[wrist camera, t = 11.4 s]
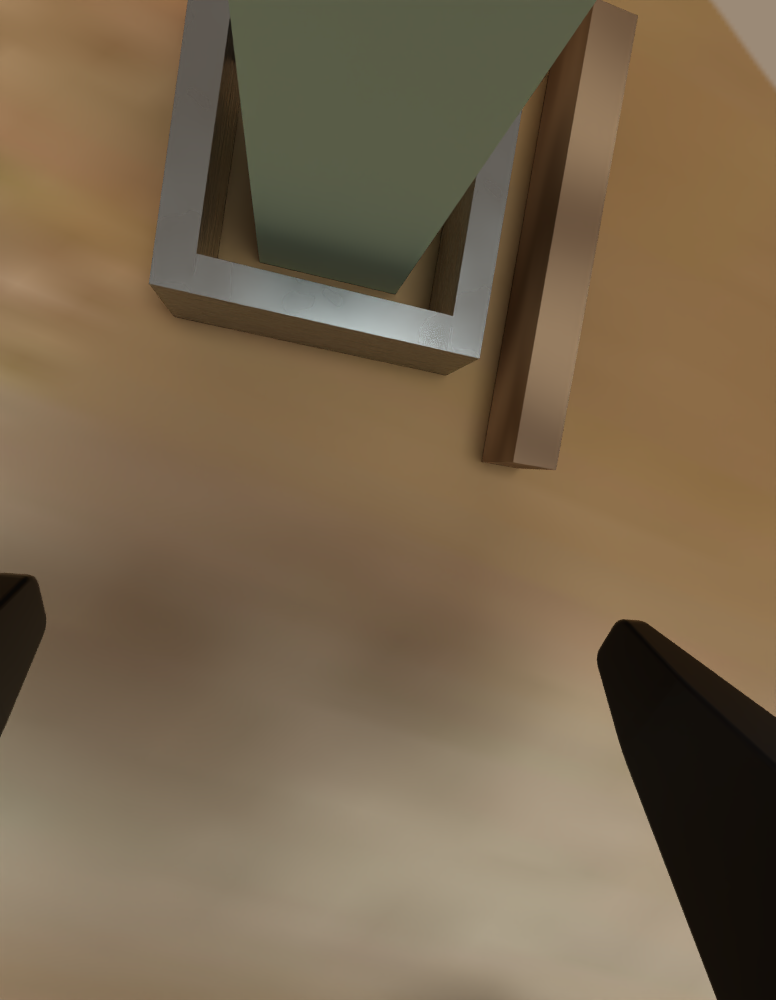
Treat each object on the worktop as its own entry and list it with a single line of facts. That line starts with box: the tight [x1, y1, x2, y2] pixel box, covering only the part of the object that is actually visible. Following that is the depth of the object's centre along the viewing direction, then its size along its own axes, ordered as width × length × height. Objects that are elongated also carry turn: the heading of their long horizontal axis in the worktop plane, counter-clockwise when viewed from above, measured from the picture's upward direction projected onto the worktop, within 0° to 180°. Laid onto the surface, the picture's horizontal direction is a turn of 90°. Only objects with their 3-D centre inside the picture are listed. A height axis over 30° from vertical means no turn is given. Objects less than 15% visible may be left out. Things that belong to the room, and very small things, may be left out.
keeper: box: [149, 0, 522, 375], centre depth 15 cm, size 9×9×3 cm
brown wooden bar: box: [482, 0, 638, 470], centre depth 17 cm, size 14×2×2 cm, turn 170°
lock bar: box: [228, 0, 596, 294], centre depth 9 cm, size 4×4×14 cm
